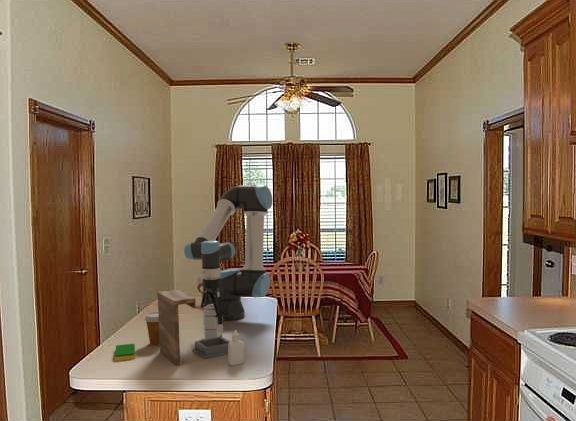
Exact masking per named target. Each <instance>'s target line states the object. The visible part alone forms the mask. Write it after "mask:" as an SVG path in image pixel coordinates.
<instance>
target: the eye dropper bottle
mask: <svg viewBox="0 0 576 421" xmlns="http://www.w3.org/2000/svg"><path fill="white" fill-rule="evenodd" d="M231 339H232V340H231V341H230V343H229V344H228V354H227V355H228V359H227V360H228V365H230V366H238V365H241V364H243V363H245V348H244V347H245V346H244V344H245V343H244V341H243V340H240V333H238V331H237V330H234V331H233V333H232V335H231Z"/></svg>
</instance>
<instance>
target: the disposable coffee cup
mask: <svg viewBox="0 0 576 421" xmlns="http://www.w3.org/2000/svg"><path fill="white" fill-rule="evenodd" d="M144 320H145V322H146V327H147V328H146V329H147V333H148V340H149V344H150V345H151V346H160V341H159V314H158V311H155V312H150V313H147V314H145V317H144Z"/></svg>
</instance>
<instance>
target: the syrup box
mask: <svg viewBox="0 0 576 421" xmlns="http://www.w3.org/2000/svg"><path fill="white" fill-rule="evenodd" d="M203 309H204V321H203V326H204V340H205V339H211V338H216V337H223V332H218V333H217V332H216V317H215V316H216V312H215V309H214V306H213V304H208V305H207V306H205V307H204V308H203ZM203 309H202V310H203Z"/></svg>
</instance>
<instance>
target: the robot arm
mask: <svg viewBox="0 0 576 421" xmlns="http://www.w3.org/2000/svg"><path fill="white" fill-rule="evenodd" d="M272 205H273V195H272V191H271V190H270V188H269V186H267V185H265V184H248V185H247V184H245V185H243V184H241V185H240V184H239V185H236V186H233V187H231V188H230V189H228V190H227V191H226V192H225V193H224V194H222V196H221V197H220V198H219V199H218V201H217V202H216V207H215V209H214V211H213V213H212V214H211V216H210V217H209V218H208V219H207V222H206V223H205V225H204V226H203V228H202V229H201V231H200V232H199V234H198V235H197V237H196V239H195V240H194V242H192V241H191V242H187V243H186V244H185V245H184V249H183V254H184V255H185V258H186V259H188V260H194V261H196V260H197V261H198V260H199V261H201V272H200V273H201V276H202V281H201V282H203V286H202V292H203V294H201V296H202V297H201V302H200V308H202V314H203V316H202V317H203V318H202V319H203V322H204V309H203V308H204V307H205V306H207V305H208V304H210V303H211V302H212V303H213V306H214V309H215V312H216V316H215V317H216V332H217V333H218V332H222V333H223V332H224V325H223V324H224V322H223V321H232V320H233V321H235V320H239V319H242V318H244V317H245V316H246V312H245V308H244V305H243V303H242V297H244V298H245V297H247V298H253V299H255V298H256V299H257V298H263V297H265V296H266V295H267V294H268V291H269V290H270V286H271V278H270V274H269V273H268V272H267V268H265V267H264V239H265V238H264V237H265V236H264V235H265V234H264V232H265V216H266V215H267V214H268V210H269V209H271V208H272ZM238 210H243V214H244V215H245V216H246V222H245V253H244V254H245V258H244V261H245V262H244V266H243V267H242V268H241V269H240V268H231V269H224V270H221V262H224V261H228V260H231V259H232V258H234V257H235V254H236V248H235V245H234V244H232V243H230V242H229V241H228V242H221V243H220V242H219V241H218V240H216V239H217V238H218V236H219V234H220V233H221V231H222V229H223V228H224V226H225V224H226V223H227V222H228V220H229V218H230V216H232V215H234V214H235V212H237V211H238Z"/></svg>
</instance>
